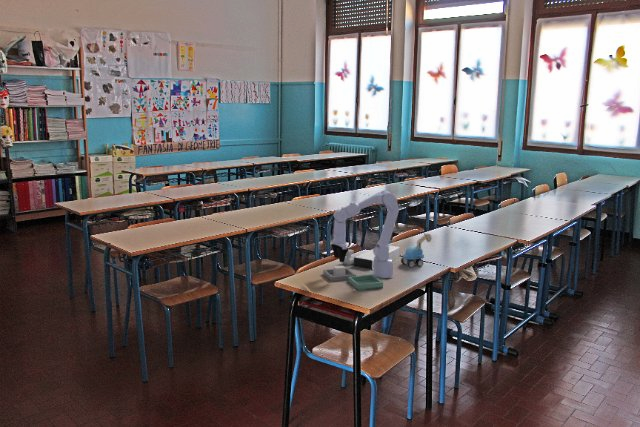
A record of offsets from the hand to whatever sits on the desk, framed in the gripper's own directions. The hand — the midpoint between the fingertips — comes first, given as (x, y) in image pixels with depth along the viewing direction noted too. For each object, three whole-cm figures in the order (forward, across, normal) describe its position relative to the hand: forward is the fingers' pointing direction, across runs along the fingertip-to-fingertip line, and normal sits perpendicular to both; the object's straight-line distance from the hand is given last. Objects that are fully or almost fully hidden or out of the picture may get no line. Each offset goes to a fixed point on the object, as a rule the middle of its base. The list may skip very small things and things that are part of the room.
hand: (339, 259), depth 282 cm
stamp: (+10, -21, +13) cm, 27 cm away
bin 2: (+10, +15, +8) cm, 20 cm away
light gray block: (+9, 0, 0) cm, 9 cm away
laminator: (+10, -21, +31) cm, 39 cm away
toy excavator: (+9, -10, +49) cm, 51 cm away
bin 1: (+10, 0, 0) cm, 10 cm away
